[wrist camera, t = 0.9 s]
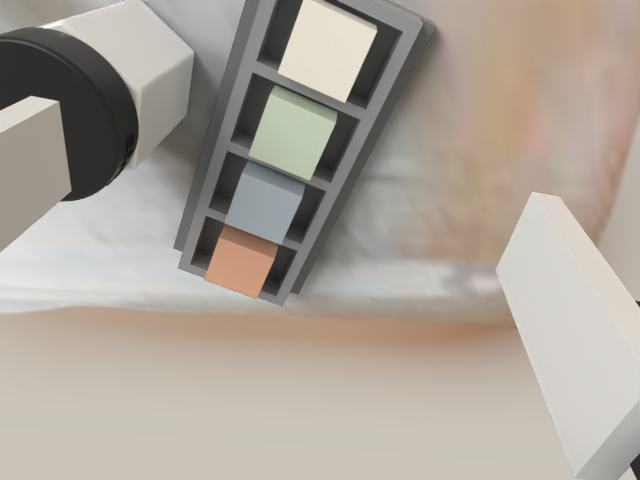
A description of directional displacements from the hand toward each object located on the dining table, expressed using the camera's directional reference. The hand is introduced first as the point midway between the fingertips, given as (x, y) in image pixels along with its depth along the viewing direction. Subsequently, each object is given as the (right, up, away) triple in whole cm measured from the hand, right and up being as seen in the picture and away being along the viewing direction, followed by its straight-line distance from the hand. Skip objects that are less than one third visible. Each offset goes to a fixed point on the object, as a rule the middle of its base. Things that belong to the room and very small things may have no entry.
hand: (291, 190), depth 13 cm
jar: (-12, +11, +19) cm, 25 cm away
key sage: (-1, +6, +17) cm, 18 cm away
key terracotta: (-5, -2, +23) cm, 24 cm away
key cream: (+1, +10, +14) cm, 18 cm away
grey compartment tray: (-2, +5, +21) cm, 22 cm away
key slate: (-3, +2, +20) cm, 20 cm away
